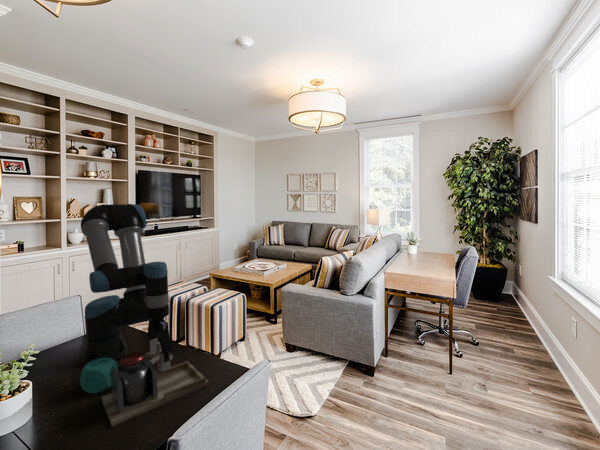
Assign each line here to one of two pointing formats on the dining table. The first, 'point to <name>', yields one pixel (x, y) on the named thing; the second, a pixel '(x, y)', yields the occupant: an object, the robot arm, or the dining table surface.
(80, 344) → the dining table surface
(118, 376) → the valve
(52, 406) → the dining table surface
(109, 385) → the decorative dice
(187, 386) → the jig
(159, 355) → the pipe connector
